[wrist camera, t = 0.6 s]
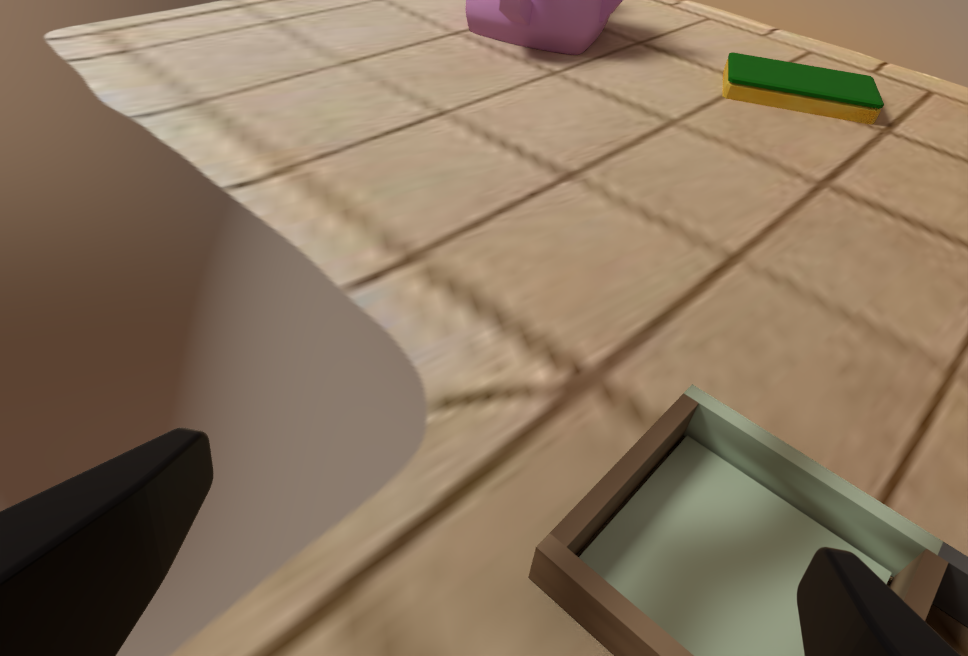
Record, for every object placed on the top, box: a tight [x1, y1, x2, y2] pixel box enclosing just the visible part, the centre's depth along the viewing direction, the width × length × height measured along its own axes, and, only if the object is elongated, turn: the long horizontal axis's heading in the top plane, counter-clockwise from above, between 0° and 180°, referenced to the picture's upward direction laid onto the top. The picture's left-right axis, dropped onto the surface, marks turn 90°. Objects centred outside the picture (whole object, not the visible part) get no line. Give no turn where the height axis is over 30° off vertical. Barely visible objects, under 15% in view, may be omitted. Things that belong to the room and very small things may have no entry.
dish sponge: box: [723, 53, 884, 124], centre depth 62 cm, size 7×14×2 cm, turn 74°
